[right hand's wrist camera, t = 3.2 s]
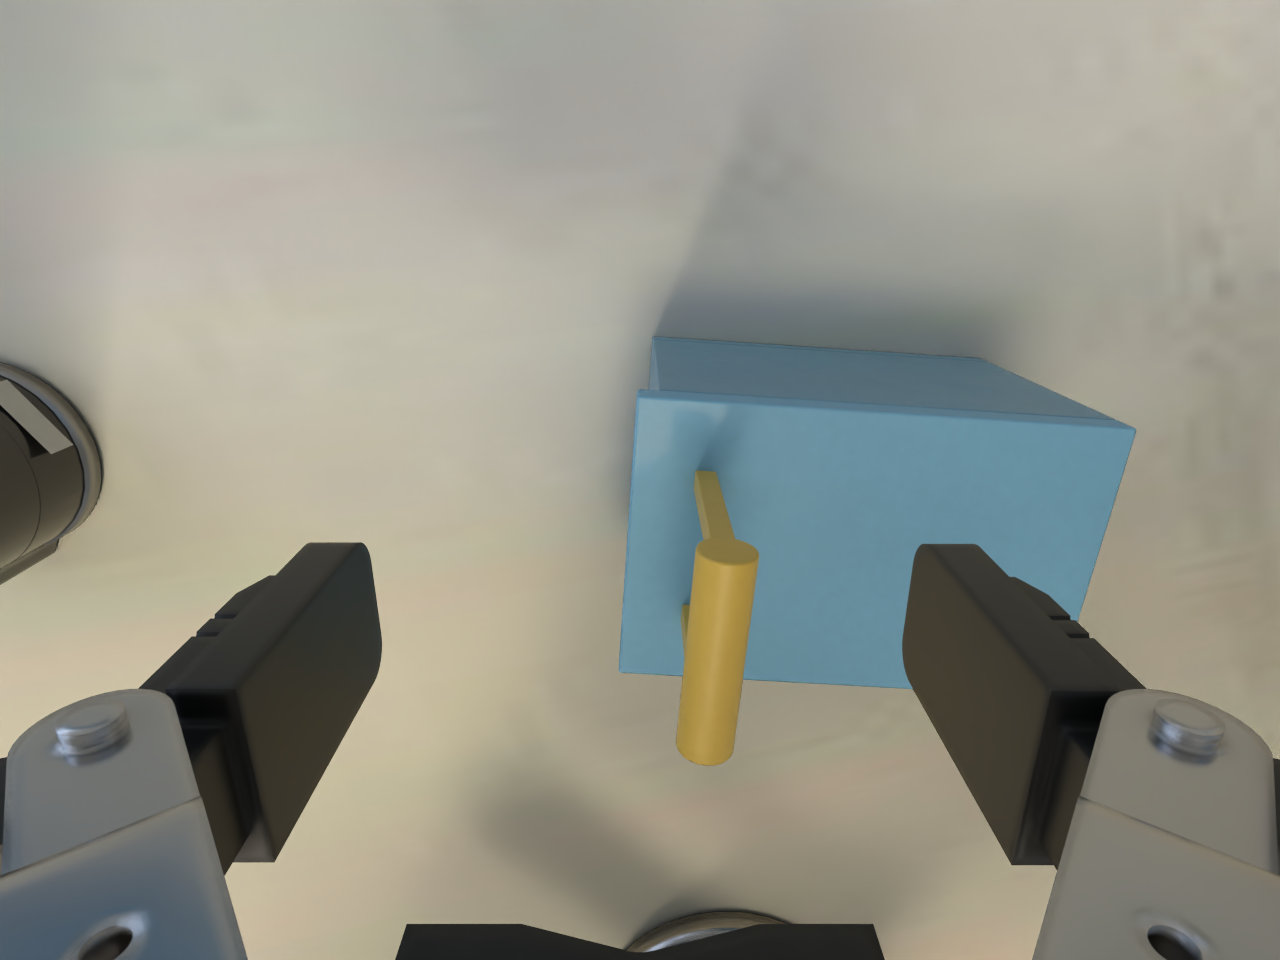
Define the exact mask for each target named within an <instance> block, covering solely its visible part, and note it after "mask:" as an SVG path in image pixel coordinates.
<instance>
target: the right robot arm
mask: <svg viewBox="0 0 1280 960" xmlns="http://www.w3.org/2000/svg"><path fill="white" fill-rule="evenodd" d="M100 485H101V467H100V461H99V456H98V452H97V449H96V446H95V444H94V441H93V439H92V436H91V435H90V433H89V431H88V429H87V427H86V425H85V424H84V422H83V421H82V419H81V418H80V416H79V415H78V414H77V413H76V411H75V410H74V409H73V408H72V407H71V405H70V404H69V403H68V402H67V401H66V400H65V399H64V398H63V397H62V396H61V395H60V394H58V393H57V392H56V391H55V390H54V389H52V388H51V387H50V386H48V385H47V384H46V383H44V382H43V381H41V380H40V379H38V378H36V377H35V376H33V375H31V374H29V373H27V372H25V371H23V370H21V369H18V368H16V367H13V366H11V365H7V364H4V363H1V362H0V585H1V584H3V583H4V582H6V581H8V580H9V579H11V578H13V577H14V576H16V575H18V574H19V573H21V572H23V571H24V570H26V569H28V568H29V567H31V566H33V565H34V564H36V563H38V562H39V561H41V560H43V559H44V558H46V557H48V556H49V555H51V554H53V553H54V552H55V551H56V545H57V541H58V539H59V538H61V537H63V536H64V535H66V534H68V533H69V532H71V531H73V530H74V529H76V528H77V527H78V526H79V525H80V524H82V523H83V522H84V521H85V519H86V518H87V517H88V516H89V514H90V513H91V512H92V510H93V508H94V506H95V504H96V501H97V499H98V495H99V491H100ZM1070 617H1071V616H1070V615H1069V614H1068V613H1067V612H1066V611H1065V610H1064V609H1063V608H1062V607H1061V606H1060V605H1059V604H1058V603H1057V602H1056V601H1055V600H1053V599H1052V598H1051V597H1050V596H1049V595H1048V594H1046V593H1044V592H1042V591H1041V590H1039V589H1037V588H1035V587H1033V586H1031V585H1029V584H1028V583H1026V582H1024V581H1022V580H1020V579H1018V578H1016V577H1009V576H1008V575H1007V574H1006V573H1005V572H1004V571H1003V570H1002V569H1001V568H1000V567H999V566H998V565H997V564H996V563H995V562H994V561H993V560H992V559H991V558H990V557H989V556H988V555H987V554H986V553H985V552H984V551H983V550H982V548H981V547H979V546H978V545H976V544H921V545H920V546H919V547H918V549H917V551H916V553H915V556H914V561H913V567H912V574H911V581H910V588H909V595H908V602H907V609H906V616H905V624H904V631H903V639H902V655H903V663H904V668H905V672H906V675H907V678H908V681H909V683H910V684H911V686H912V688H913V690H914V692H915V693H916V695H917V697H918V699H919V701H920V702H921V704H922V706H923V708H924V709H925V711H926V713H927V715H928V717H929V718H930V720H931V722H932V724H933V726H934V727H935V729H936V731H937V733H938V734H939V736H940V738H941V740H942V742H943V743H944V745H945V747H946V749H947V750H948V752H949V754H950V756H951V758H952V759H953V761H954V763H955V765H956V767H957V768H958V770H959V772H960V774H961V775H962V777H963V779H964V781H965V783H966V784H967V786H968V788H969V790H970V791H971V793H972V795H973V797H974V799H975V800H976V802H977V804H978V806H979V808H980V809H981V811H982V813H983V815H984V816H985V818H986V820H987V822H988V824H989V825H990V827H991V829H992V831H993V832H994V834H995V836H996V838H997V840H998V841H999V843H1000V845H1001V847H1002V849H1003V850H1004V852H1005V854H1006V856H1007V857H1008V859H1009V861H1010V863H1011V865H1054V866H1055V868H1056V869H1057V874H1056V877H1055V881H1054V884H1053V888H1052V892H1051V895H1050V899H1049V902H1048V906H1047V909H1046V913H1045V916H1044V920H1043V923H1042V927H1041V930H1040V934H1039V937H1038V941H1037V944H1036V948H1035V951H1034V955H1033V959H1032V960H1280V760H1279V759H1274V758H1273V757H1272V753H1271V751H1270V749H1269V747H1268V745H1267V744H1266V743H1265V742H1264V740H1263V739H1262V738H1261V737H1260V736H1259V735H1258V734H1257V733H1256V732H1255V731H1254V730H1252V729H1251V728H1250V727H1249V726H1247V725H1246V724H1244V723H1243V722H1242V721H1240V720H1239V719H1237V718H1235V717H1234V716H1232V715H1230V714H1229V713H1227V712H1225V711H1223V710H1221V709H1219V708H1217V707H1214V706H1212V705H1210V704H1207V703H1205V702H1203V701H1200V700H1197V699H1194V698H1191V697H1188V696H1184V695H1181V694H1177V693H1172V692H1167V691H1162V690H1154V689H1146V688H1145V687H1144V686H1143V685H1142V684H1141V683H1140V682H1139V681H1138V680H1137V679H1136V678H1135V677H1134V676H1133V675H1132V674H1130V673H1129V672H1128V671H1127V670H1126V669H1125V668H1124V667H1123V666H1122V665H1121V664H1120V663H1119V662H1118V661H1117V660H1116V659H1115V658H1114V657H1113V656H1112V655H1111V654H1110V653H1109V652H1108V651H1107V650H1106V649H1104V648H1103V647H1102V646H1101V645H1100V644H1099V643H1098V642H1097V641H1096V640H1095V639H1094V638H1089V633H1088V632H1087V631H1086V630H1085V629H1084V628H1083V627H1082V626H1081V625H1080V624H1078V623H1077V622H1076V621H1075V620H1071V618H1070ZM381 653H382V638H381V629H380V622H379V615H378V608H377V601H376V593H375V586H374V579H373V572H372V565H371V559H370V555H369V551H368V549H367V547H366V546H365V545H364V544H363V543H308V544H306V545H305V546H304V547H303V548H302V549H301V550H300V551H299V552H298V553H297V554H296V555H295V556H294V557H293V558H292V559H291V560H290V561H289V562H288V563H287V564H286V565H285V566H284V567H283V569H282V570H281V571H280V572H279V573H278V574H277V575H276V576H268V577H266V578H264V579H262V580H260V581H259V582H257V583H255V584H253V585H251V586H249V587H247V588H246V589H244V590H242V591H240V592H238V593H236V594H235V595H234V596H233V597H232V598H231V599H230V600H229V601H228V602H227V603H226V604H225V605H224V606H223V607H222V608H221V609H220V610H219V611H218V612H217V613H216V614H215V618H214V619H210V620H209V621H208V622H207V623H205V624H204V625H203V626H202V627H201V628H200V629H199V630H198V631H197V636H196V637H191V638H190V639H189V640H188V641H187V642H186V643H185V644H184V645H183V646H182V647H181V648H180V649H179V650H178V651H177V652H176V653H175V654H174V655H172V656H171V657H170V658H169V659H168V660H167V661H166V662H165V663H164V664H163V665H162V666H161V667H160V668H159V669H158V670H157V671H156V672H155V673H154V674H153V675H152V676H151V677H150V678H149V679H148V680H147V681H146V682H145V683H144V684H143V685H142V686H141V687H139V688H138V689H126V690H118V691H113V692H108V693H103V694H99V695H96V696H92V697H89V698H86V699H83V700H80V701H77V702H75V703H73V704H70V705H68V706H66V707H63V708H61V709H59V710H57V711H55V712H53V713H51V714H50V715H48V716H46V717H45V718H43V719H41V720H40V721H38V722H37V723H36V724H34V725H33V726H31V727H30V728H29V729H28V730H26V731H25V732H24V733H23V734H22V735H21V736H20V737H19V738H18V739H17V740H16V742H15V743H14V744H13V745H12V747H11V749H10V751H9V753H8V756H7V757H6V758H1V759H0V960H248V959H247V955H246V951H245V948H244V944H243V941H242V937H241V934H240V930H239V927H238V923H237V920H236V916H235V913H234V909H233V906H232V902H231V899H230V895H229V892H228V888H227V884H226V881H225V877H224V876H225V874H226V872H227V871H228V869H229V867H230V866H231V864H232V863H233V862H275V860H276V858H277V856H278V855H279V853H280V851H281V849H282V847H283V846H284V844H285V842H286V840H287V838H288V837H289V835H290V833H291V831H292V829H293V828H294V826H295V824H296V822H297V820H298V819H299V817H300V815H301V813H302V811H303V810H304V808H305V806H306V804H307V802H308V801H309V799H310V797H311V795H312V793H313V791H314V790H315V788H316V786H317V784H318V782H319V781H320V779H321V777H322V775H323V773H324V772H325V770H326V768H327V766H328V764H329V763H330V761H331V759H332V757H333V755H334V754H335V752H336V750H337V748H338V746H339V745H340V743H341V741H342V739H343V737H344V736H345V734H346V732H347V730H348V728H349V727H350V725H351V723H352V721H353V719H354V717H355V716H356V714H357V712H358V710H359V708H360V707H361V705H362V703H363V701H364V699H365V698H366V696H367V694H368V692H369V690H370V689H371V687H372V685H373V683H374V681H375V679H376V677H377V674H378V671H379V667H380V661H381ZM395 960H885V959H884V956H883V953H882V950H881V947H880V944H879V941H878V938H877V935H876V931H875V928H874V925H873V924H757V925H753V926H749V927H745V928H741V929H737V930H733V931H729V932H725V933H721V934H717V935H713V936H709V937H705V938H702V939H698V940H694V941H690V942H686V943H682V944H678V945H674V946H670V947H666V948H662V949H658V950H654V951H648V952H632V951H626V950H622V949H618V948H614V947H610V946H606V945H602V944H598V943H594V942H590V941H586V940H582V939H578V938H575V937H571V936H567V935H563V934H559V933H555V932H551V931H547V930H543V929H539V928H535V927H531V926H527V925H523V924H407V925H406V928H405V931H404V935H403V938H402V941H401V944H400V947H399V950H398V953H397V956H396V959H395Z"/></svg>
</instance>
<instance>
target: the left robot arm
mask: <svg viewBox="0 0 1280 960" xmlns="http://www.w3.org/2000/svg"><path fill="white" fill-rule="evenodd" d="M757 924H785V923H783V922H781V921H778V920H775V919H772V918H769V917H765V916H760V915H756V914H749V913H741V912H712V913H704V914H697V915H692V916H688V917H684V918H681V919H677V920H674V921H671V922H669V923H666V924H664V925H662V926H660V927H657V928H655V929H654V930H652V931H650V932H648V933H647V934H645V935H644V936H642V937H641V938H639V939H638V940H637V941H636V942H634V943H633V944H632V945H631V946H630V947H629V948H628V949H627V950H626V951H632V952H648V951H654V950H658V949H662V948H666V947H670V946H674V945H678V944H682V943H686V942H690V941H694V940H698V939H702V938H705V937H709V936H713V935H717V934H721V933H725V932H729V931H733V930H737V929H741V928H745V927H749V926H753V925H757Z"/></svg>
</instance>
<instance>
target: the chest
mask: <svg viewBox="0 0 1280 960" xmlns="http://www.w3.org/2000/svg"><path fill="white" fill-rule="evenodd" d="M649 390H658V391H673V392H689V393H704V394H719V395H735V396H750V397H765V398H781V399H796V400H811V401H827V402H842V403H857V404H873V405H888V406H903V407H919V408H934V409H949V410H965V411H980V412H995V413H1011V414H1026V415H1041V416H1057V417H1072V418H1087V419H1103V420H1115V419H1113V418H1111V417H1109V416H1107V415H1104V414H1102V413H1100V412H1098V411H1095V410H1093V409H1091V408H1089V407H1087V406H1084V405H1082V404H1080V403H1078V402H1076V401H1073V400H1071V399H1069V398H1067V397H1065V396H1062V395H1060V394H1058V393H1056V392H1053V391H1051V390H1049V389H1047V388H1045V387H1042V386H1040V385H1038V384H1036V383H1034V382H1031V381H1029V380H1027V379H1025V378H1023V377H1020V376H1018V375H1016V374H1014V373H1011V372H1009V371H1007V370H1005V369H1003V368H1000V367H998V366H996V365H994V364H992V363H989V362H987V361H985V360H983V359H980V358H968V357H953V356H938V355H924V354H909V353H894V352H879V351H864V350H849V349H834V348H819V347H804V346H789V345H774V344H759V343H744V342H729V341H714V340H699V339H685V338H670V337H653V338H652V351H651V365H650V379H649Z"/></svg>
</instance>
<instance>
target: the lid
mask: <svg viewBox="0 0 1280 960" xmlns="http://www.w3.org/2000/svg"><path fill="white" fill-rule="evenodd" d="M1135 433H1136V429H1135V428H1133V427H1131V426H1129V425H1126V424H1124V423H1122V422H1120V421H1118V420H1103V419H1087V418H1072V417H1057V416H1041V415H1026V414H1011V413H995V412H980V411H965V410H949V409H934V408H919V407H903V406H888V405H873V404H857V403H842V402H827V401H811V400H796V399H781V398H765V397H750V396H735V395H719V394H704V393H689V392H673V391H658V390H643V389H640V390H638V391H637V399H636V414H635V429H634V444H633V459H632V474H631V489H630V504H629V519H628V534H627V549H626V564H625V579H624V594H623V609H622V624H621V639H620V654H619V672H621V673H636V674H653V675H671V676H683V678H682V688H681V698H680V708H679V718H678V727H677V737H676V745H677V748H678V750H679V752H680V753H681V754H682V755H683V756H684V757H685V758H686V759H688V760H689V761H691V762H693V763H696V764H700V765H708V766H711V765H718V764H721V763H723V762H725V761H726V760H728V759H729V758H730V756H731V755H732V753H733V748H734V741H735V734H736V726H737V719H738V711H739V704H740V697H741V689H742V682H743V680H761V681H778V682H796V683H814V684H832V685H850V686H868V687H886V688H903V689H913V688H912V686H911V684H910V683H909V681H908V678H907V675H906V672H905V668H904V663H903V655H902V639H903V631H904V624H905V616H906V609H907V602H908V595H909V588H910V581H911V574H912V567H913V561H914V556H915V553H916V551H917V549H918V547H919V546H920V545H921V544H976V545H978V546H979V547H981V548H982V550H983V551H984V552H985V553H986V554H987V555H988V556H989V557H990V558H991V559H992V560H993V561H994V562H995V563H996V564H997V565H998V566H999V567H1000V568H1001V569H1002V570H1003V571H1004V572H1005V573H1006V574H1007V575H1008V576H1009V577H1016V578H1018V579H1020V580H1022V581H1024V582H1026V583H1028V584H1029V585H1031V586H1033V587H1035V588H1037V589H1039V590H1041V591H1042V592H1044V593H1046V594H1048V595H1049V596H1050V597H1051V598H1052V599H1053V600H1055V601H1056V602H1057V603H1058V604H1059V605H1060V606H1061V607H1062V608H1063V609H1064V610H1065V611H1066V612H1067V613H1068V614H1069V615H1070V616H1071V617H1070V618H1071V620H1075V621H1076V622H1078V618H1079V615H1080V612H1081V609H1082V605H1083V602H1084V599H1085V596H1086V592H1087V589H1088V586H1089V583H1090V579H1091V576H1092V573H1093V570H1094V566H1095V563H1096V560H1097V557H1098V553H1099V550H1100V547H1101V544H1102V540H1103V537H1104V534H1105V531H1106V527H1107V524H1108V521H1109V518H1110V514H1111V511H1112V508H1113V505H1114V501H1115V498H1116V495H1117V492H1118V488H1119V485H1120V482H1121V479H1122V475H1123V472H1124V469H1125V466H1126V463H1127V459H1128V456H1129V453H1130V450H1131V446H1132V443H1133V440H1134V437H1135Z"/></svg>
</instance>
